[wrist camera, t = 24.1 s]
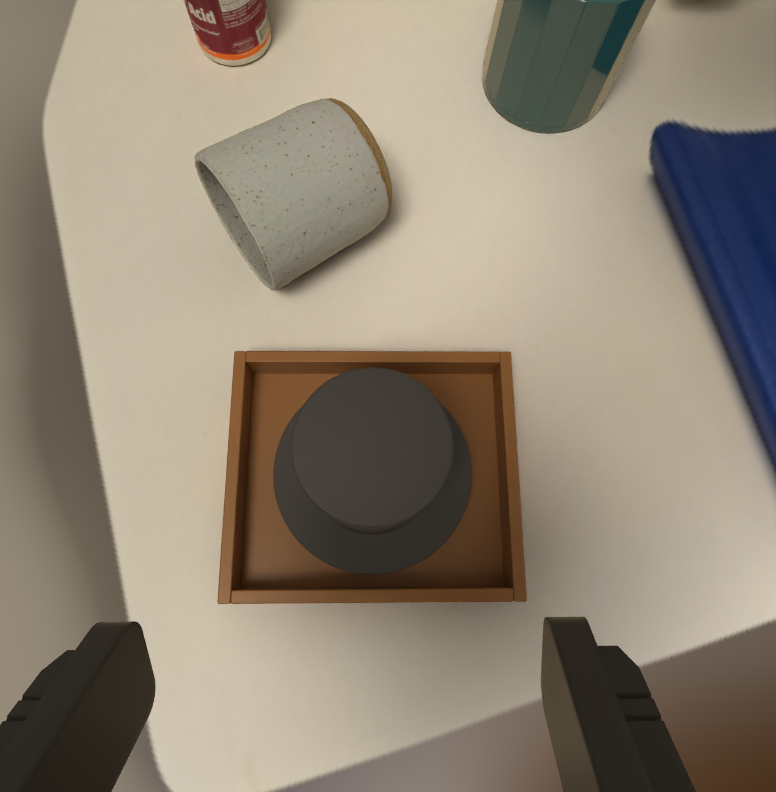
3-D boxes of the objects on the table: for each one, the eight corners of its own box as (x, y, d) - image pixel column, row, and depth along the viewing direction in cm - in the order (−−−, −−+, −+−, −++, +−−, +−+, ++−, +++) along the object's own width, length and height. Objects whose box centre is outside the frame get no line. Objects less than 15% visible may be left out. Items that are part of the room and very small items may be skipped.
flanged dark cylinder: (461, 387, 32) (495, 323, 23) (469, 572, 29) (510, 580, 20) (283, 387, 31) (248, 322, 22) (275, 573, 29) (232, 582, 20)
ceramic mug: (400, 239, 34) (406, 150, 27) (283, 314, 33) (256, 242, 25) (299, 118, 37) (279, 5, 29) (187, 183, 35) (135, 82, 28)
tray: (500, 366, 32) (511, 351, 30) (514, 597, 29) (527, 601, 27) (244, 366, 32) (234, 350, 30) (230, 599, 29) (217, 603, 26)
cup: (598, 32, 39) (663, -119, 30) (611, 134, 37) (685, 3, 28) (479, 30, 39) (509, -122, 30) (485, 132, 36) (520, 1, 28)
